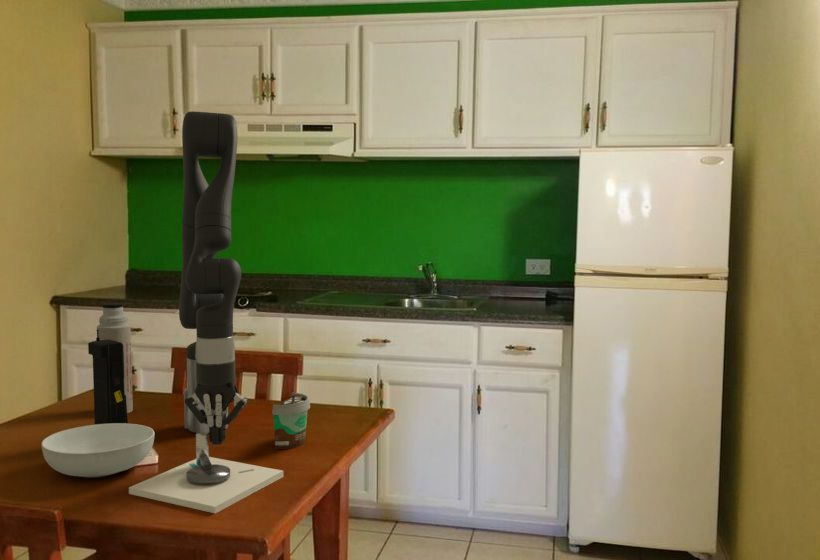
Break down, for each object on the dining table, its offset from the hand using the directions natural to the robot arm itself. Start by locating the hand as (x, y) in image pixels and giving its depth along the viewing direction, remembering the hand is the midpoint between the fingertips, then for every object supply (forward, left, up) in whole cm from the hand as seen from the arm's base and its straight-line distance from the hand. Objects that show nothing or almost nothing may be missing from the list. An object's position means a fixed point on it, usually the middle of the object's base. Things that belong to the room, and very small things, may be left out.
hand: (217, 443), depth 150 cm
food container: (+4, +21, -5) cm, 22 cm away
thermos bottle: (-52, +22, -5) cm, 56 cm away
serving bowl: (-21, -11, -5) cm, 24 cm away
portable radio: (-33, +3, -5) cm, 33 cm away
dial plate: (+4, -8, -5) cm, 10 cm away
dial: (+2, -6, -3) cm, 8 cm away
